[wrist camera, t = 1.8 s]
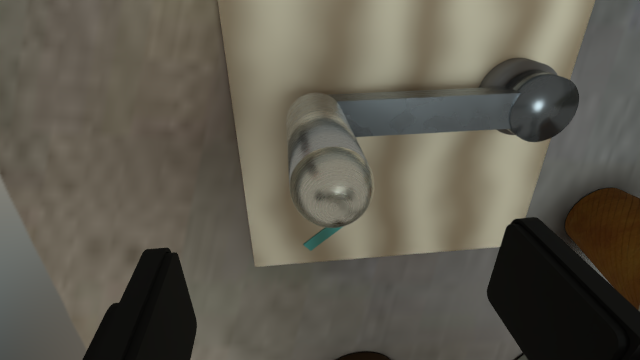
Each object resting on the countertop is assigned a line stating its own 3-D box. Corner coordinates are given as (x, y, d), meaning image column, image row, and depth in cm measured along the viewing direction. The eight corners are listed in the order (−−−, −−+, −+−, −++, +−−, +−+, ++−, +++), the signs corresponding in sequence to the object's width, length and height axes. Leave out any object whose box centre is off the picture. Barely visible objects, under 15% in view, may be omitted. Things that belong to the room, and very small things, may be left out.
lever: (566, 68, 24) (774, 131, 14) (547, 129, 26) (715, 222, 16) (283, 79, 23) (287, 159, 12) (287, 144, 25) (293, 256, 15)
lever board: (586, -15, 25) (622, -14, 22) (509, 237, 35) (527, 258, 33) (219, -7, 23) (211, -5, 20) (255, 258, 33) (253, 281, 31)
